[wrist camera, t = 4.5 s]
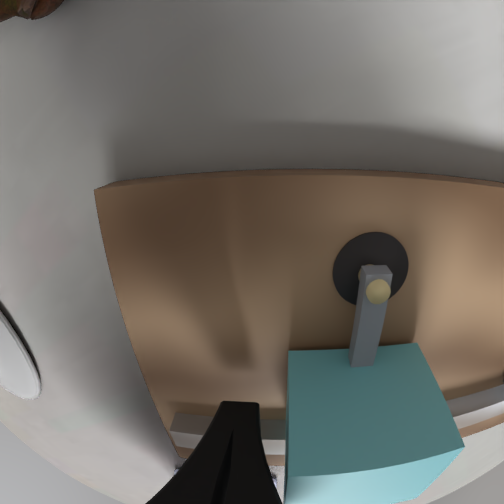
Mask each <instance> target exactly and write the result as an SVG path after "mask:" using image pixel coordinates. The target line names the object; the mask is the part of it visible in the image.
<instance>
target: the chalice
mask: <svg viewBox="0 0 504 504" xmlns="http://www.w3.org/2000/svg"><path fill="white" fill-rule="evenodd" d="M0 386H2V387H3V388H4V389H6V390H7V391H8V392H10V393H12V394H14V395H16V396H18V397H21V398H24V399H36V398H38V397H39V396H40V394H41V382H40V379H39V376H38V373H37V370H36V368H35V366H34V364H33V362H32V359H31V357H30V355H29V354H28V352H27V350H26V348H25V347H24V345H23V343H22V342H21V340H20V338H19V337H18V335H17V334H16V332H15V331H14V329H13V328H12V326H11V325H10V323H9V321H8V320H7V319H6V317H5V316H4V315H3V313H2V312H1V311H0Z"/></svg>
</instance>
